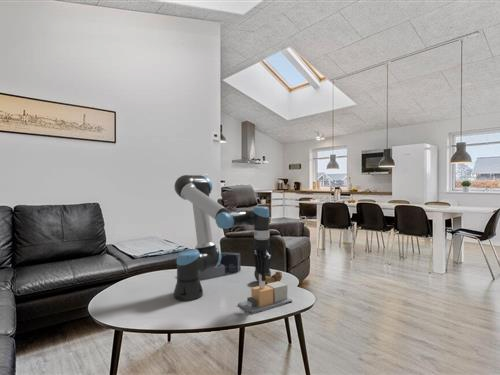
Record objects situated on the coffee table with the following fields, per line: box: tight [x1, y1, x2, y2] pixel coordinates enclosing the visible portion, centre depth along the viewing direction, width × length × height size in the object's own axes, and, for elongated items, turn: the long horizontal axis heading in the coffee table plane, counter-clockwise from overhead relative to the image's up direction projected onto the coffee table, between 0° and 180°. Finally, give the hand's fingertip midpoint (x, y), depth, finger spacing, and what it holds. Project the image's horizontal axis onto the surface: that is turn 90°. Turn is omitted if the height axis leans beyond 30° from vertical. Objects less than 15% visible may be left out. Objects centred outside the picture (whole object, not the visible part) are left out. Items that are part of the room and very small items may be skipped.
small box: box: [220, 251, 242, 273], centre depth 201 cm, size 13×7×12 cm, turn 74°
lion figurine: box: [257, 270, 283, 286], centre depth 166 cm, size 15×5×9 cm, turn 100°
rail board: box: [237, 281, 293, 315], centre depth 144 cm, size 12×24×8 cm, turn 124°
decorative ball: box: [254, 268, 272, 282], centre depth 176 cm, size 10×10×10 cm
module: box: [250, 284, 273, 307], centre depth 143 cm, size 7×8×7 cm
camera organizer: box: [199, 264, 226, 281], centre depth 191 cm, size 16×22×6 cm
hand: (262, 287), depth 143 cm, fingers closed
